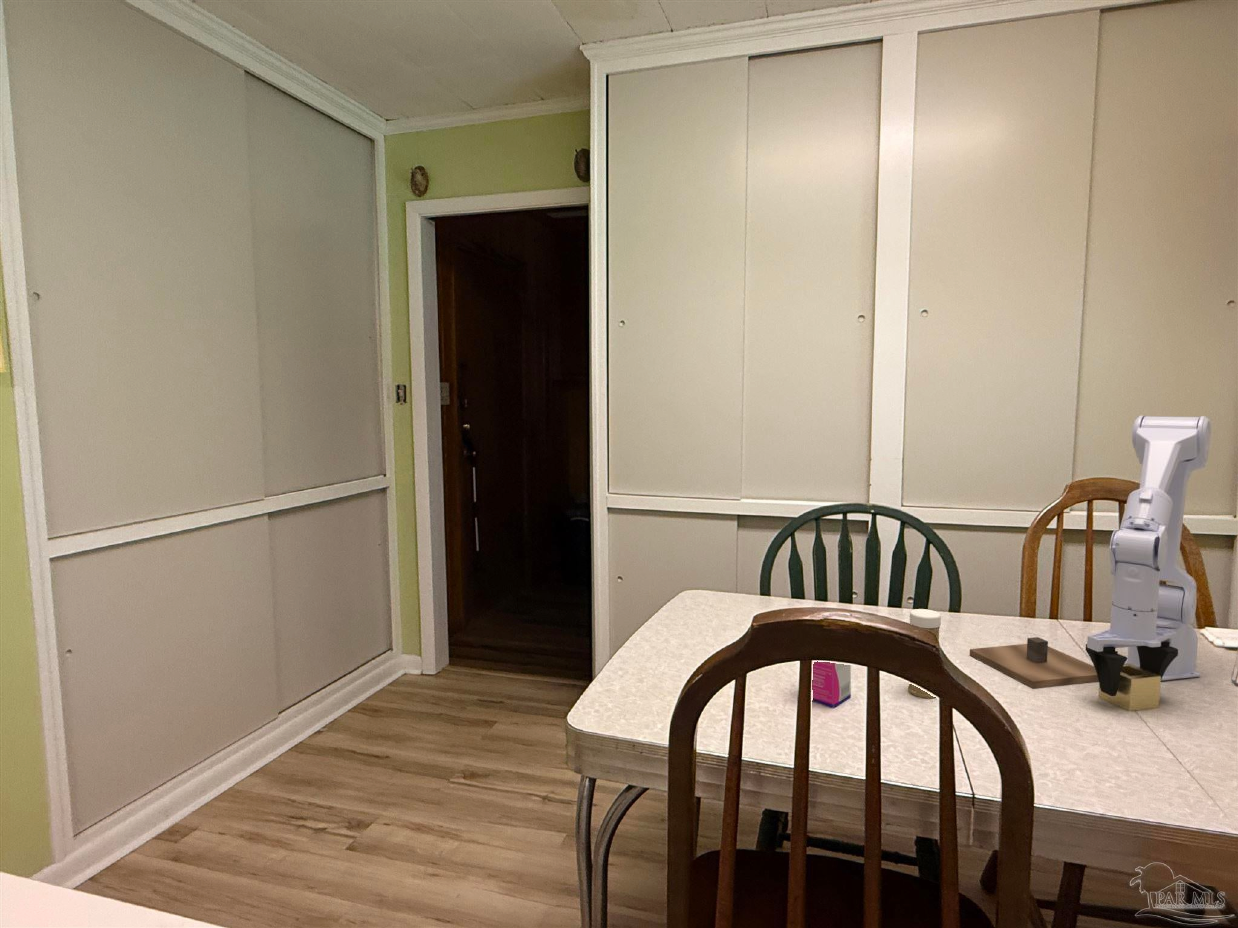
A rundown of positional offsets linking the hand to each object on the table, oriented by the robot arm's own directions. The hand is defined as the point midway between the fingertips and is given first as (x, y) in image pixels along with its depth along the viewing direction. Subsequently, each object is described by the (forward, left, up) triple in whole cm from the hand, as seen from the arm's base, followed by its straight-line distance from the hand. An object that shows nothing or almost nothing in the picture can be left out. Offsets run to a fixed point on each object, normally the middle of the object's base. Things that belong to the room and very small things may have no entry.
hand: (1128, 691), depth 109 cm
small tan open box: (0, 0, -2) cm, 2 cm away
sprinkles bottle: (+29, -10, -2) cm, 31 cm away
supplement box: (+45, -12, -2) cm, 47 cm away
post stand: (+3, -15, -2) cm, 15 cm away
